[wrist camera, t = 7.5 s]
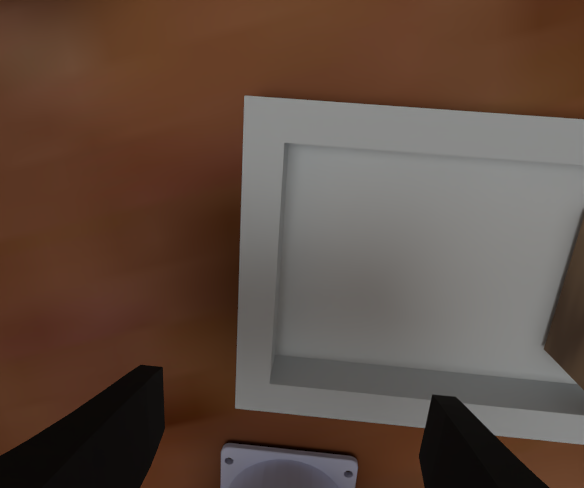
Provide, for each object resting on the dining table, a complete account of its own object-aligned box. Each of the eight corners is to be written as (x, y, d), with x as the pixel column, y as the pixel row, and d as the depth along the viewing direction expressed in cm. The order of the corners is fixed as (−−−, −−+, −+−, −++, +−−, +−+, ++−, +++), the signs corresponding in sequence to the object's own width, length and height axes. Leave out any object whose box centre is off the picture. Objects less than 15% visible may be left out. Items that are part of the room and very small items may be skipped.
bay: (706, 416, 21) (767, 463, 18) (246, 370, 22) (235, 408, 19) (838, 140, 17) (945, 144, 14) (256, 99, 18) (244, 95, 15)
